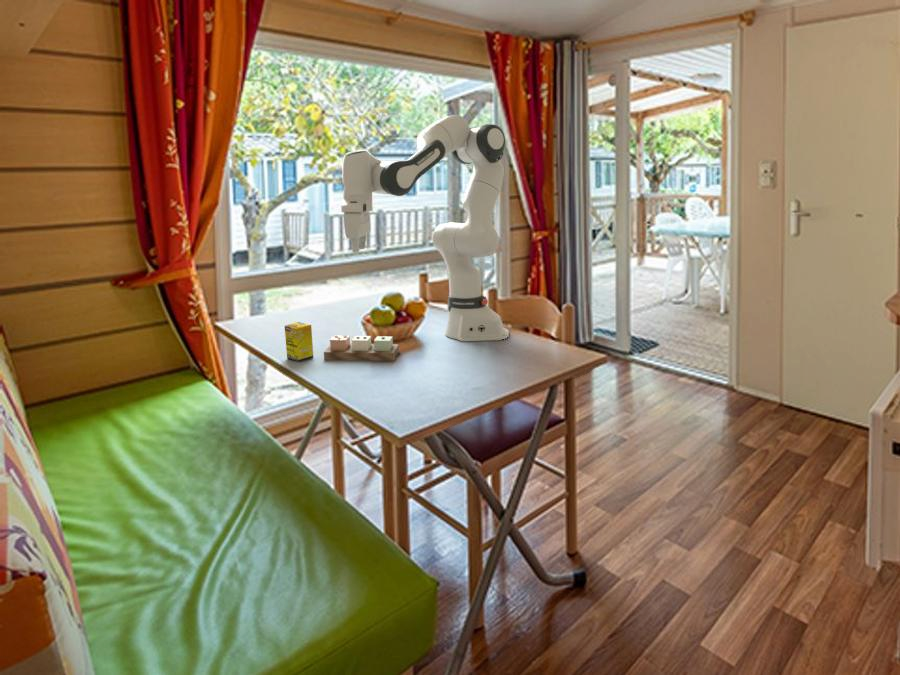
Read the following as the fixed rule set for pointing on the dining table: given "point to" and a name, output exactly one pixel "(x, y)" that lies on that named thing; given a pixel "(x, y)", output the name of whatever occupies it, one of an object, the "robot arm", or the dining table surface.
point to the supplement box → (299, 341)
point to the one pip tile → (383, 343)
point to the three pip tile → (340, 342)
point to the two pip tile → (361, 343)
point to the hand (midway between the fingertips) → (359, 250)
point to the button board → (362, 354)
